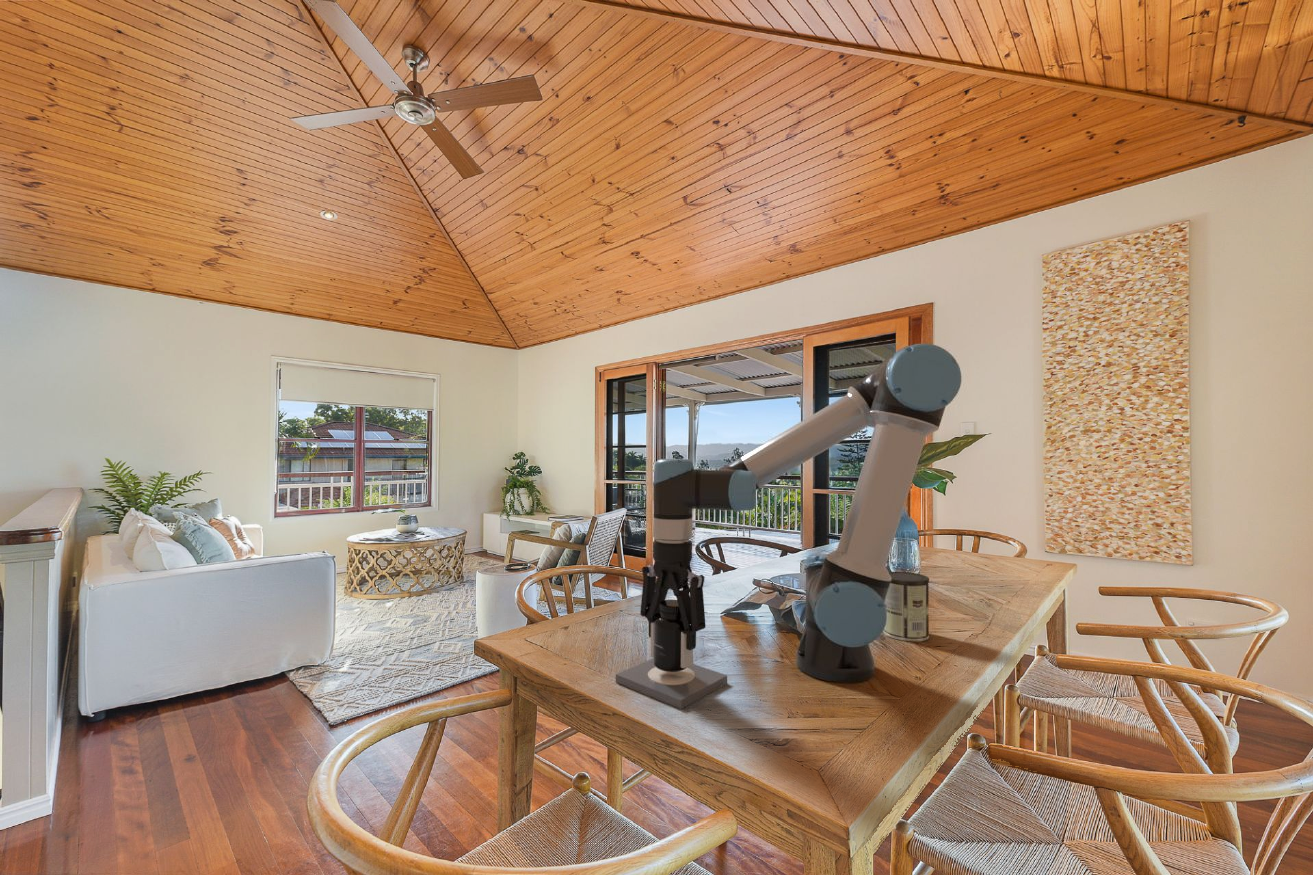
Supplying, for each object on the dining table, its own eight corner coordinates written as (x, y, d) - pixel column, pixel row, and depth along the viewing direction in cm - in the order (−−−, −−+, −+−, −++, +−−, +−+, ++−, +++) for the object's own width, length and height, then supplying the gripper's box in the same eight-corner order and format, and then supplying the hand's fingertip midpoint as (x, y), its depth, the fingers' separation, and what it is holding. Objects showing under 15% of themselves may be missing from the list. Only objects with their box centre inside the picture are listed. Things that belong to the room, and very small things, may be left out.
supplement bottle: (648, 669, 105) (648, 605, 105) (660, 656, 111) (661, 596, 111) (682, 675, 102) (683, 609, 102) (693, 661, 109) (694, 599, 109)
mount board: (727, 683, 106) (727, 674, 106) (680, 708, 96) (680, 699, 96) (663, 660, 117) (663, 653, 117) (615, 682, 107) (615, 673, 107)
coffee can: (898, 624, 142) (898, 569, 142) (937, 636, 133) (937, 577, 134) (873, 632, 136) (873, 574, 136) (913, 645, 128) (913, 583, 128)
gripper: (726, 543, 103) (725, 668, 103) (647, 531, 116) (646, 642, 116) (702, 549, 97) (700, 681, 97) (622, 535, 111) (620, 652, 110)
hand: (671, 660), depth 107 cm, fingers closed on supplement bottle, 7 cm apart
